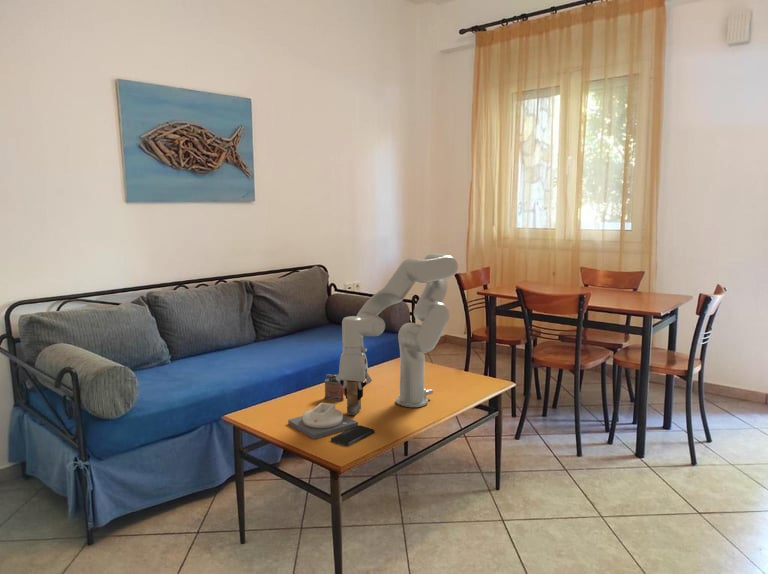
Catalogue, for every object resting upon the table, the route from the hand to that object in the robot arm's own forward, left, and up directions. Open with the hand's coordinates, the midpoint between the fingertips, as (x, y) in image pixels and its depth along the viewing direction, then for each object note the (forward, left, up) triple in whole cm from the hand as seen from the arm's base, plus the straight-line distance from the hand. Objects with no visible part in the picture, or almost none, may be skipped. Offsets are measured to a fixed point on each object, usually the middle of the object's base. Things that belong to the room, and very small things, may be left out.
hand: (353, 397), depth 204 cm
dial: (+15, +3, -4) cm, 16 cm away
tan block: (0, 0, -5) cm, 5 cm away
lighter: (-3, -17, -6) cm, 18 cm away
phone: (+13, +17, -6) cm, 22 cm away
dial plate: (+15, +3, -6) cm, 17 cm away
